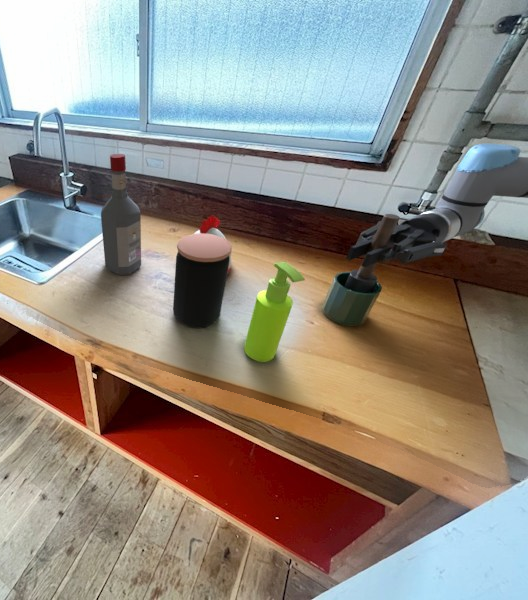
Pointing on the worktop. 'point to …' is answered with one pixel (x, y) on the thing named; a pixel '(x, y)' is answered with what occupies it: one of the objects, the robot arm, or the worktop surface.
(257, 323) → the soap dispenser
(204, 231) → the kitchen timer
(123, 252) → the liquor
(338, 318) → the teal faceted cup
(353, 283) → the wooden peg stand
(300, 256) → the worktop surface
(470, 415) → the worktop surface
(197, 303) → the coffee jar
